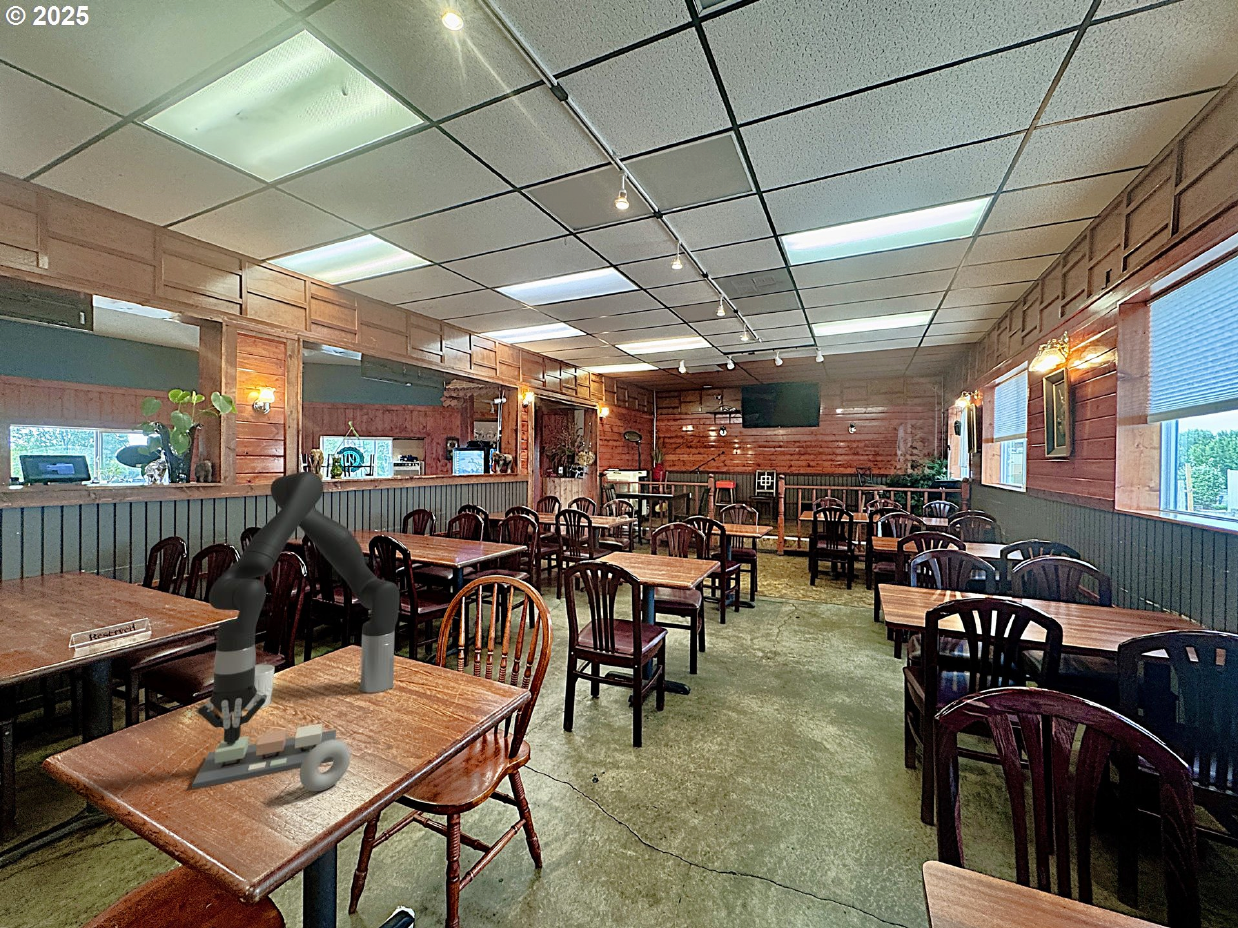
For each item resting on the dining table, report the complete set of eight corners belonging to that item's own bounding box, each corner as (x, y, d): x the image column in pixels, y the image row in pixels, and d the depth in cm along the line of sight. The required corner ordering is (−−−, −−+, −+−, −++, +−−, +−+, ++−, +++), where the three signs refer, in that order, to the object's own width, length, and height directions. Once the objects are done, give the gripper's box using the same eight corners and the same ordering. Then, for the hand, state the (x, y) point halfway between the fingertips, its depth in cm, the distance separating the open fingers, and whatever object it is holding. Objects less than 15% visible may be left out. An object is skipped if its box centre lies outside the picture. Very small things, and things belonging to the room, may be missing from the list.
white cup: (260, 712, 140) (261, 676, 141) (232, 710, 141) (233, 674, 141) (279, 699, 148) (280, 665, 148) (253, 698, 148) (254, 663, 149)
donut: (345, 774, 114) (347, 729, 114) (352, 780, 112) (354, 735, 112) (295, 795, 106) (297, 747, 106) (302, 802, 104) (303, 754, 104)
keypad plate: (335, 734, 130) (336, 728, 130) (333, 760, 119) (333, 754, 119) (209, 757, 119) (209, 750, 119) (192, 789, 107) (192, 782, 107)
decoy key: (286, 745, 122) (286, 729, 122) (282, 756, 117) (283, 740, 118) (260, 749, 120) (260, 733, 120) (255, 761, 115) (256, 744, 115)
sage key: (248, 752, 119) (248, 735, 119) (243, 763, 114) (244, 747, 114) (220, 757, 116) (221, 740, 116) (214, 769, 112) (215, 752, 112)
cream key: (321, 738, 125) (322, 723, 126) (320, 749, 121) (320, 733, 121) (297, 743, 123) (297, 727, 123) (294, 754, 118) (295, 737, 119)
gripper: (272, 656, 122) (269, 728, 122) (203, 664, 116) (200, 740, 116) (267, 667, 115) (263, 744, 115) (193, 676, 109) (189, 757, 109)
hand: (231, 742), depth 115 cm, fingers closed
